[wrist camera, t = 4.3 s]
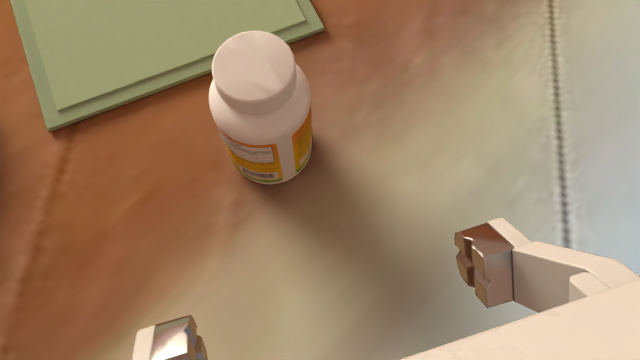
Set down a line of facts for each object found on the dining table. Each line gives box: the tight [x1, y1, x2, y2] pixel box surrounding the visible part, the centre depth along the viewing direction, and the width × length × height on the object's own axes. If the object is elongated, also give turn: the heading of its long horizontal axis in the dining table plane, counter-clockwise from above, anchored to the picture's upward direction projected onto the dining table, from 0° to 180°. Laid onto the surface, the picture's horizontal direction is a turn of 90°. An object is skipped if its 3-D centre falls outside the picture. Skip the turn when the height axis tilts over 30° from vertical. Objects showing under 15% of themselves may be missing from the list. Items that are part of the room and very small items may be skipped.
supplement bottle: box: [209, 31, 312, 184], centre depth 28 cm, size 5×5×10 cm
